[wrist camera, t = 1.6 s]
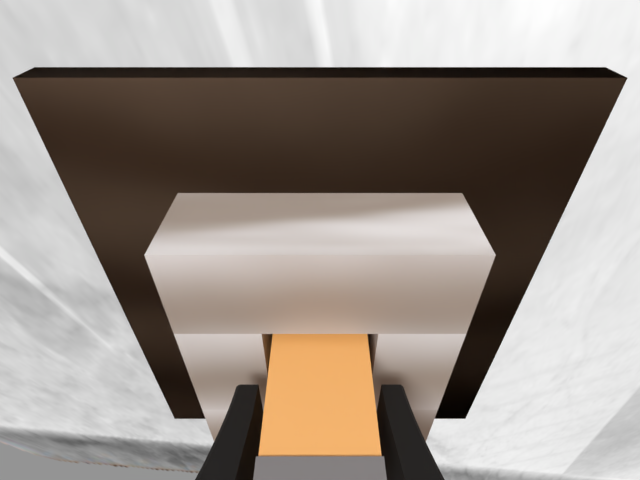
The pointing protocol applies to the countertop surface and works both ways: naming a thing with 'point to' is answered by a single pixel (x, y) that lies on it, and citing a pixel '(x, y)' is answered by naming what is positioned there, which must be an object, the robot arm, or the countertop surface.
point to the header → (320, 210)
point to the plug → (319, 411)
